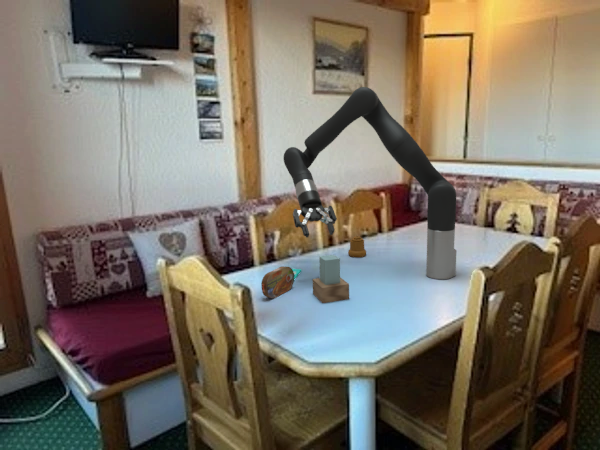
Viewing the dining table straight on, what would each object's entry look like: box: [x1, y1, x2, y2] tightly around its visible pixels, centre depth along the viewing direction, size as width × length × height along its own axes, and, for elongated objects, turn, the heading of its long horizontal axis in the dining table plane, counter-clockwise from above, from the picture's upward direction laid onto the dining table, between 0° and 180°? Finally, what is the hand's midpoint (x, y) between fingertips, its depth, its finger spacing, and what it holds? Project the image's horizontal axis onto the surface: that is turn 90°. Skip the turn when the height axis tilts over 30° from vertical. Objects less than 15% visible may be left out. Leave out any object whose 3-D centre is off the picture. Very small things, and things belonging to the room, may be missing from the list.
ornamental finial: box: [347, 235, 367, 258], centre depth 196 cm, size 8×8×8 cm
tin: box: [261, 265, 295, 299], centre depth 155 cm, size 15×3×8 cm, turn 146°
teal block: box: [318, 254, 341, 285], centre depth 150 cm, size 5×5×8 cm
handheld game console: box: [291, 268, 302, 280], centre depth 172 cm, size 10×16×1 cm, turn 165°
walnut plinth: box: [312, 276, 350, 304], centre depth 152 cm, size 9×9×5 cm
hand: (320, 234), depth 156 cm, fingers open, 8 cm apart
